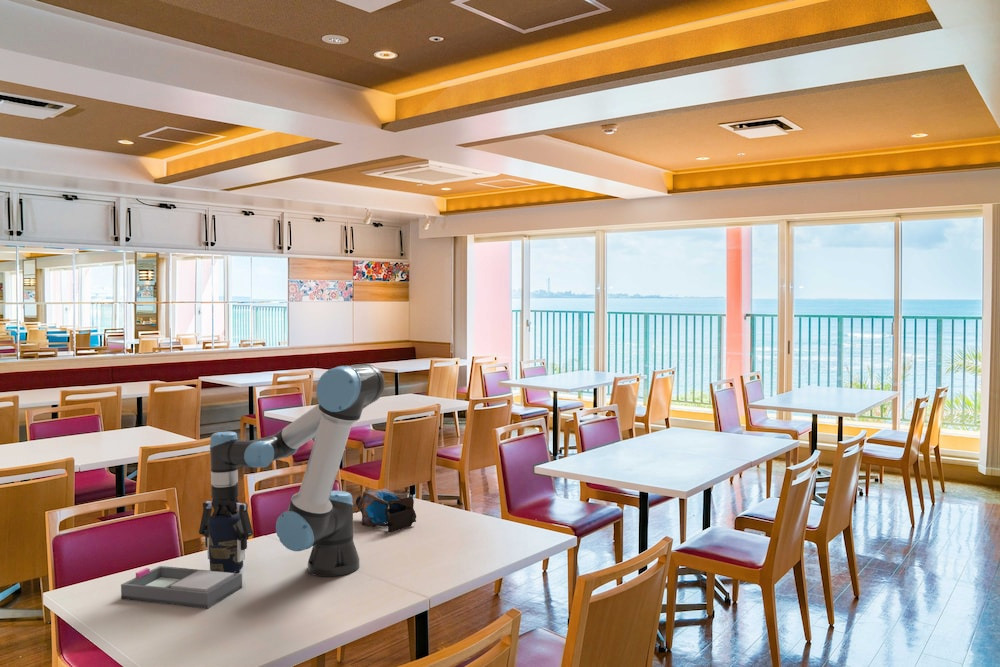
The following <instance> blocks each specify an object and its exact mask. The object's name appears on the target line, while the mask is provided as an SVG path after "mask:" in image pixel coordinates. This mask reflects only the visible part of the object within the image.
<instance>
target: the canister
mask: <svg viewBox="0 0 1000 667" xmlns="http://www.w3.org/2000/svg"><path fill="white" fill-rule="evenodd" d="M238 513H239V511H238ZM233 515H235V513H234V514H233ZM239 523H241V519H240V515H239V514H237V515H235V516H233V517H228V516H219V515H218V514H217V516H212V515H211V516H210V517H209V520H208V524H209V559H208V560H209V571H219V572H230V573H238V571H240V570H241V569H243V567H244V560H243V561H241V562H238V560H237V540H238V539H240V538H239V536H238V534H237V528H236V524H239Z"/></svg>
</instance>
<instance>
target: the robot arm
mask: <svg viewBox="0 0 1000 667" xmlns="http://www.w3.org/2000/svg"><path fill="white" fill-rule="evenodd" d="M385 380H386V379H385V377H384V374H383V373H382V372H381V370H380V369H379V368H378V367H376V366H374V365H372V364H369V363H358V364H351V365H339V366H336V367H333V368H329V369H328V370H326V371H325V372H324V373H322V375H321V376H320V377H319V379H318V381H317V383H316V388H315V394H316V397H317V401H318V404H317V405H315V406H314V407H312V408H310V409H309V410H308V411H306V412H305V413H304V414H302V415H300V417H298V418H296V419H295V420H294V421H292V422H291V423H289V424H288V425H286V426H285V427H283V428H282V429H281V430H279V431H278V432H277V433H275V434H273V435H268V436H266V437H261V438H256V439H252V440H243V439H242V440H241V439H239V438H238V433H237V432H235V431H231V430H229V431H217V432H214V433H212V434H211V435H210V442H209V444H210V445H209V453H210V455H209V456H210V484H211V485H212V486H211V487H210V488H211V489H210V492H211V495H210V496H211V499H212V501H211V500H206V501H204V502H203V503H202V514H201V520H200V524H199V525H200V526H199V530H198V534H199V535H202V536H204V537H205V538H204V539H205V540H204V541H205V543H204V544H205V548H207V560H210V559H209V524H208V520H209V517H210V516H217V514H218V515H219V516H228V517H233V516H235V515H237V514H239V515H240V519H241V523H239V524H236V528H237V534H238V536H239V538H240V539H238V540H237V560H238V562H241V561H243V562H244V560H246V550H247V549H248V538H251V537H252V536H254V532H253V527H252V523H251V519H250V516H249V511H248V508H249V504H248V503H247V502H244V503H242V502H241V503H240V502H239V500H238V497H239V484H238V482H239V469H238V468H239V467H247V468H254V469H258V468H261V469H263V468H264V469H265V468H267V467H269V466H270V465H271V463H272V462H273V461H277V460H281V459H285V458H289V457H291V456H294V455H295V454H297V452H298V450H299V448H300V447H302V446H304V445H305V444H306V443H308V442H309V441H311V440H312V439H314V441H313V444H312V448H311V451H310V454H309V458H308V461H307V464H306V468H305V471H304V474H303V478H302V480H301V481H302V482H301V484H300V488H299V491H298V492H296V493H294V494H293V495H292V496H291V499H290V500H289V501H290V502H289V505H288V509H287V510H285V511H283V512H282V513H281V514H280V515H279V516H278V517H277V519H276V522H275V533H276V536H277V537H278V539H279V541H280V543H281V545H283V546H284V547H285V548H286V549H287V550H289V551H293V552H302V551H305V550H309V549H311V551H310V555H309V557H308V561H307V571H308V573H309V574H310V575H313V576H318V577H338V576H344V575H347V574H351V573H354V572H355V571H357V570H358V569H359V568H360V557H359V554H358V551H357V548H356V546H355V545H356V544H355V543H354V503H353V502H354V501H353V495H352V494H351V493H350V492H348V491H344V490H333V489H334V484H335V481H336V479H337V478H336V477H337V475H338V471H339V470H340V466H341V462H342V459H343V455H344V452H345V449H346V446H347V443H348V439H349V437H350V433H351V429H352V427H353V424H354V423H356V422H358V421H359V420H360V418H361V415H362V412H363V410H364V409H365V408H367V407H369V405H372V404H373V403H375V402H376V401H378V400H379V399H380V398H381V397H382V395H383V394H384V391H385V389H386V388H385V386H386V381H385ZM212 510H213V513H212ZM238 512H239V513H238ZM234 513H235V515H233V514H234Z"/></svg>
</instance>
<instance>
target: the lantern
mask: <svg viewBox="0 0 1000 667" xmlns="http://www.w3.org/2000/svg"><path fill="white" fill-rule="evenodd" d="M414 503H415V499H414V496H413V495H409V496H408V497H405V498H402V497H400V496H398V495H397V494H396V493H394V491H392V490H391V489H390V488H387V487H385V488H381V489H380V488H379V489H373V490H365V491H363V492H362V495H361V494H358V496H357V497H356V498H355V506H356V507H357V508H358V510H357V511H355V513H356V514H357V513H358V512H359V511H360V514H361V526H369V527H370V526H372V527H373V528H372V530H374V529H375V527H377V526H379V527H387V532H388V533H392V532H395V530H396V531H399V530H398V529H400V530H402V528H403V529H405V528H410V527H409V526H411V525H413V523H417V514H416V511H415V508H414ZM411 527H412V526H411Z"/></svg>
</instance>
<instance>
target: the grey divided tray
mask: <svg viewBox="0 0 1000 667" xmlns="http://www.w3.org/2000/svg"><path fill="white" fill-rule="evenodd" d="M241 589H243V573H238V572H234V573H230V572H219V571H210V569H209V570H207V569H197V568H195V569H194V568H185V567H175V566H165V565H159V566H157V567H154V568H153V569H150V568H144V569H142V570H140V571H139V570H138V572H135V577H134V578H132V579H130V580H127V581H126V582H124V583H122V584H120V594H121V595H120V596H121V598H120V599H121V600H125V601H134V602H142V603H143V602H144V603H150V604H151V603H153V604H160V605H171V606H180V607H187V608H196V609H197V608H198V609H205V610H207V609H208V610H209V608H211V607H213V606H215V605H217V604H218V603H220V602H221V601H223V600H225V599H226V598H228V597H230V596H231V595H233V594H235V593H237V592H238V591H239V590H241Z"/></svg>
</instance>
